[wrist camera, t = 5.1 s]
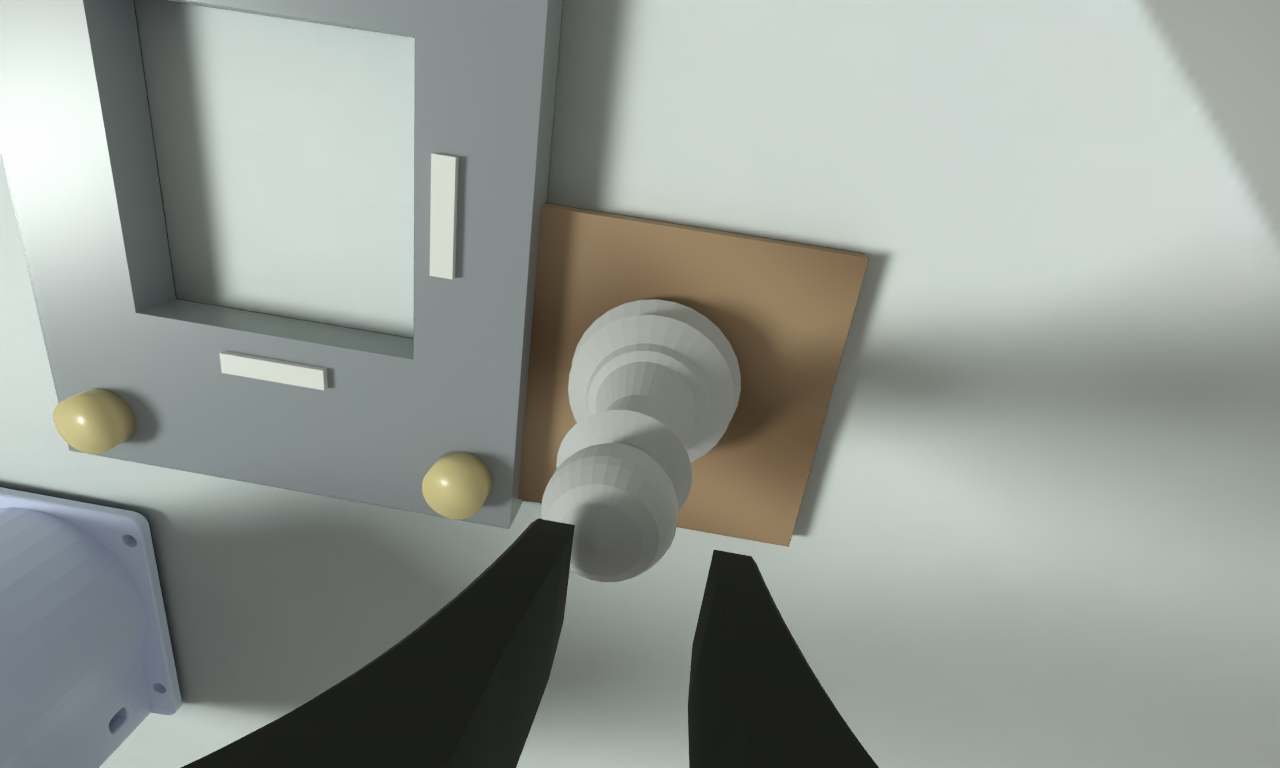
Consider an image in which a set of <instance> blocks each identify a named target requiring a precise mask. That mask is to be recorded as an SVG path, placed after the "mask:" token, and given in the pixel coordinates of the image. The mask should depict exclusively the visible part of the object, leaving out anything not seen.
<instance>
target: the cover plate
mask: <svg viewBox="0 0 1280 768" xmlns="http://www.w3.org/2000/svg"><path fill="white" fill-rule="evenodd" d="M166 1H172V2H179V3H186V4H192V5H199V6H206V7H212V8H219V9H226V10H233V11H239V12H246V13H253V14H259V15H266V16H273V17H279V18H286V19H293V20H300V21H306V22H313V23H320V24H326V25H333V26H340V27H346V28H353V29H360V30H367V31H373V32H380V33H387V34H393V35H400V36H407V37H413V38H415V124H414V339H411V338H405V337H399V336H393V335H387V334H381V333H375V332H369V331H364V330H358V329H352V328H346V327H340V326H334V325H328V324H322V323H316V322H310V321H304V320H298V319H292V318H286V317H280V316H274V315H268V314H262V313H256V312H250V311H244V310H238V309H232V308H227V307H221V306H215V305H209V304H203V303H197V302H191V301H185V300H179V299H176V295H175V288H174V281H173V274H172V267H171V260H170V253H169V246H168V239H167V232H166V225H165V218H164V211H163V204H162V197H161V190H160V183H159V176H158V169H157V162H156V155H155V148H154V141H153V134H152V127H151V120H150V113H149V106H148V99H147V92H146V85H145V78H144V71H143V64H142V57H141V50H140V43H139V36H138V29H137V22H136V15H135V8H134V1H133V0H0V150H1V154H2V159H3V163H4V167H5V172H6V176H7V180H8V185H9V189H10V193H11V198H12V202H13V206H14V211H15V215H16V220H17V224H18V228H19V233H20V237H21V241H22V246H23V250H24V254H25V259H26V263H27V267H28V272H29V276H30V280H31V285H32V289H33V293H34V298H35V302H36V307H37V311H38V315H39V320H40V324H41V328H42V333H43V337H44V341H45V346H46V350H47V354H48V359H49V363H50V367H51V372H52V376H53V381H54V385H55V389H56V394H57V398H58V402H59V403H58V405H57V406H56V407H55V410H54V414H53V418H54V423H55V426H56V429H57V431H58V432H59V434H60V435H61V437H62V438H63V439H64V440H65V441H66V442H67V443H68V446H69V450H70V451H76V452H81V453H87V454H92V455H98V456H104V457H109V458H115V459H120V460H126V461H132V462H137V463H143V464H148V465H154V466H160V467H165V468H171V469H176V470H182V471H188V472H193V473H199V474H204V475H210V476H216V477H221V478H227V479H232V480H238V481H244V482H249V483H255V484H260V485H266V486H272V487H277V488H283V489H288V490H294V491H300V492H305V493H311V494H316V495H322V496H328V497H333V498H339V499H344V500H350V501H356V502H361V503H367V504H372V505H378V506H384V507H389V508H395V509H400V510H406V511H412V512H417V513H423V514H428V515H434V516H440V517H445V518H451V519H456V520H462V521H468V522H473V523H479V524H484V525H490V526H496V527H501V528H507V529H509V528H510V526H511V524H512V522H513V520H514V518H515V516H516V514H517V512H518V510H519V508H520V506H521V504H522V501H523V500H521V499H518V498H519V485H520V472H521V459H522V446H523V433H524V421H525V408H526V395H527V382H528V369H529V356H530V344H531V331H532V318H533V305H534V292H535V280H536V267H537V254H538V241H539V228H540V215H541V206H543V205H545V204H546V203H547V192H548V180H549V167H550V155H551V142H552V130H553V118H554V105H555V93H556V81H557V68H558V56H559V44H560V31H561V19H562V7H563V0H166Z"/></svg>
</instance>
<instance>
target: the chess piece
mask: <svg viewBox="0 0 1280 768" xmlns="http://www.w3.org/2000/svg"><path fill="white" fill-rule="evenodd" d="M740 391H741V374H740V370H739V365H738V361H737V357H736V355H735V353H734V351H733V349H732V347H731V344H730V342H729V341H728V340H727V338H726V337H725V336H724V334H723V333H722V332H721V330H720V329H719V328H718V327H717V326H716V325H715V324H713V323H712V322H711V321H710V320H709V319H708V318H707V317H705V316H704V315H702V314H700V313H699V312H697V311H695V310H694V309H692V308H689V307H687V306H684V305H681V304H679V303H676V302H670V301H664V300H658V299H656V300H638V301H634V302H629V303H625V304H622V305H620V306H618V307H616V308H613V309H611V310H609V311H607V312H606V313H605V314H603V315H602V316H601V317H599V318H598V319H597V320H595V321H594V322H593V324H592V325H591V326H590V327H589V328H588V329H587V330H586V331H585V333H584V334H583V336H582V338H581V340H580V341H579V343H578V345H577V347H576V351H575V354H574V357H573V360H572V368H571V371H570V374H569V384H568V393H569V402H570V406H571V409H572V412H573V415H574V418H575V420H576V422H577V424H575V425H574V426H573V428H572V429H571V430H570V431H569V432H568V433H567V434H566V436H565V437H564V439H563V441H562V443H561V445H560V448H559V451H558V454H557V464H556V467H557V469H556V471H555V473H554V474H553V476H552V478H551V479H550V481H549V483H548V484H547V486H546V489H545V492H544V495H543V498H542V508H541V517H542V519H544V520H549V521H555V522H561V523H566V524H572V525H575V528H574V536H573V544H572V553H571V561H570V570H572V571H573V572H575V573H577V574H579V575H580V576H583V577H586V578H588V579H591V580H596V581H601V582H617V581H623V580H627V579H630V578H633V577H635V576H637V575H639V574H641V573H643V572H645V571H646V570H648V569H649V568H651V567H652V566H653V565H655V564H656V563H657V562H658V561H659V560H660V559H661V558H662V556H663V555H664V554H665V553H666V551H667V550H668V548H669V547H670V545H671V543H672V541H673V539H674V536H675V531H676V526H677V520H678V512H679V510H680V509H681V508H682V506H683V505H684V503H685V502H686V500H687V497H688V495H689V493H690V489H691V484H692V467H691V462H693V461H695V460H697V459H698V458H700V457H702V456H703V455H705V454H706V453H707V452H708V451H710V450H711V449H712V448H713V447H714V446H715V445H716V444H717V443H718V441H719V440H720V439H721V437H722V436H723V434H724V433H725V432H726V429H727V427H728V425H729V422H730V421H731V419H732V417H733V415H734V412H735V410H736V408H737V406H738V401H739V396H740Z"/></svg>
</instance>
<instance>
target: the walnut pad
mask: <svg viewBox="0 0 1280 768" xmlns="http://www.w3.org/2000/svg"><path fill="white" fill-rule="evenodd" d="M868 260H869V258H868V257H867V256H866V255H865V254H863V253H857V252H850V251H844V250H838V249H831V248H825V247H819V246H812V245H806V244H800V243H793V242H787V241H781V240H774V239H768V238H762V237H755V236H749V235H743V234H736V233H730V232H724V231H718V230H711V229H705V228H699V227H692V226H686V225H680V224H673V223H667V222H661V221H654V220H648V219H642V218H635V217H629V216H623V215H616V214H610V213H604V212H597V211H591V210H585V209H579V208H572V207H566V206H560V205H553V204H547V203H546V204H545V205H543V206H541V215H540V228H539V241H538V254H537V267H536V280H535V292H534V305H533V318H532V331H531V344H530V356H529V369H528V382H527V395H526V408H525V421H524V433H523V446H522V459H521V472H520V485H519V498H518V499H521V500H527V501H533V502H538V503H542V498H543V495H544V492H545V489H546V486H547V484H548V483H549V481H550V479H551V478H552V476H553V474H554V473H555V471H556V469H557V467H556V464H557V454H558V451H559V448H560V445H561V443H562V441H563V439H564V437H565V436H566V434H567V433H568V432H569V431H570V430H571V429H572V428H573V426H574V425H575V424H577V422H576V420H575V418H574V415H573V412H572V409H571V406H570V402H569V393H568V384H569V374H570V371H571V368H572V360H573V357H574V354H575V351H576V347H577V345H578V343H579V341H580V340H581V338H582V336H583V334H584V333H585V331H586V330H587V329H588V328H589V327H590V326H591V325H592V324H593V322H594V321H595V320H597V319H598V318H599V317H601V316H602V315H603V314H605V313H606V312H607V311H609V310H611V309H613V308H616V307H618V306H620V305H622V304H625V303H629V302H634V301H638V300H656V299H658V300H664V301H670V302H676V303H679V304H681V305H684V306H687V307H689V308H692V309H694V310H695V311H697V312H699V313H700V314H702V315H704V316H705V317H707V318H708V319H709V320H710V321H711V322H712V323H713V324H715V325H716V326H717V327H718V328H719V329H720V330H721V332H722V333H723V334H724V336H725V337H726V338H727V340H728V341H729V342H730V344H731V347H732V349H733V351H734V353H735V355H736V357H737V361H738V365H739V370H740V374H741V391H740V396H739V401H738V406H737V408H736V410H735V412H734V415H733V417H732V419H731V421H730V422H729V425H728V427H727V429H726V432H725V433H724V434H723V436H722V437H721V439H720V440H719V441H718V443H717V444H716V445H715V446H714V447H713V448H712V449H711V450H710V451H708V452H707V453H706V454H705V455H703V456H702V457H700V458H698V459H697V460H695V461H693V462H691V467H692V484H691V489H690V493H689V495H688V497H687V500H686V502H685V503H684V505H683V506H682V508H681V509H680V510H679V512H678V520H677V526H676V527H680V528H685V529H691V530H697V531H702V532H708V533H714V534H719V535H725V536H731V537H736V538H742V539H748V540H753V541H759V542H765V543H770V544H776V545H782V546H787V547H789V544H790V541H791V537H792V534H793V530H794V526H795V523H796V519H797V516H798V512H799V508H800V505H801V501H802V497H803V494H804V490H805V487H806V483H807V479H808V476H809V472H810V469H811V465H812V461H813V458H814V454H815V451H816V447H817V443H818V440H819V436H820V433H821V429H822V425H823V422H824V418H825V415H826V411H827V407H828V404H829V400H830V397H831V393H832V389H833V386H834V382H835V379H836V375H837V371H838V368H839V364H840V361H841V357H842V353H843V350H844V346H845V343H846V339H847V335H848V332H849V328H850V324H851V321H852V317H853V314H854V310H855V306H856V303H857V299H858V296H859V292H860V288H861V285H862V281H863V278H864V274H865V270H866V267H867V263H868Z"/></svg>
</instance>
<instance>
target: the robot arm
mask: <svg viewBox="0 0 1280 768" xmlns="http://www.w3.org/2000/svg"><path fill="white" fill-rule="evenodd" d="M574 528H575V525H572V524H566V523H561V522H555V521H549V520H544V519H537V520H536V521H534V522H532V523H531V524H530V525H529V526H528V528H527V529H526V530H525V531H524V532H523V533H522V534H521V535H520V536H519V537H518V538H517V539H516V541H515V542H514V543H513V544H512V545H511V546H510V547H509V548H508V549H507V550H506V551H505V552H504V553H503V554H502V555H501V556H500V557H499V558H498V559H497V560H496V561H495V562H494V563H493V564H492V565H491V566H490V567H488V568H487V569H486V570H485V571H484V572H483V573H482V574H481V575H480V576H479V577H478V578H476V579H475V580H474V581H473V582H472V583H471V584H470V585H469V586H468V587H467V588H466V589H464V590H463V591H462V592H461V593H460V594H459V595H458V596H457V597H455V598H454V599H453V600H452V601H451V602H449V603H448V604H447V605H446V606H444V607H443V608H442V609H441V610H440V611H438V612H437V613H436V614H435V615H433V616H432V617H431V618H430V619H429V620H427V621H426V622H425V623H424V624H422V625H421V626H420V627H419V628H417V629H416V630H415V631H414V632H412V633H411V634H410V635H408V636H407V637H406V638H404V639H403V640H401V641H400V642H399V643H397V644H396V645H395V646H393V647H392V648H391V649H389V650H388V651H386V652H385V653H383V654H382V655H381V656H379V657H378V658H376V659H375V660H373V661H372V662H370V663H369V664H367V665H366V666H364V667H363V668H362V669H360V670H359V671H357V672H355V673H354V674H352V675H351V676H349V677H348V678H346V679H344V680H343V681H341V682H339V683H338V684H336V685H335V686H333V687H331V688H330V689H328V690H327V691H325V692H323V693H322V694H320V695H319V696H317V697H315V698H314V699H312V700H310V701H309V702H307V703H305V704H304V705H302V706H300V707H298V708H297V709H295V710H293V711H291V712H290V713H288V714H286V715H284V716H283V717H281V718H279V719H277V720H275V721H273V722H271V723H269V724H267V725H266V726H264V727H262V728H260V729H258V730H256V731H254V732H252V733H250V734H248V735H246V736H244V737H242V738H241V739H239V740H237V741H235V742H233V743H231V744H229V745H227V746H225V747H223V748H221V749H219V750H217V751H215V752H213V753H211V754H209V755H207V756H205V757H203V758H201V759H199V760H196V761H194V762H192V763H190V764H188V765H186V766H184V767H181V768H516V766H517V763H518V761H519V758H520V755H521V753H522V750H523V747H524V745H525V742H526V739H527V737H528V734H529V731H530V729H531V726H532V723H533V720H534V718H535V715H536V712H537V710H538V707H539V704H540V701H541V699H542V696H543V693H544V691H545V688H546V685H547V682H548V679H549V676H550V672H551V668H552V664H553V660H554V656H555V652H556V648H557V644H558V640H559V636H560V632H561V628H562V625H563V619H564V611H565V603H566V594H567V586H568V578H569V569H570V561H571V553H572V544H573V536H574ZM181 705H182V700H181V695H180V690H179V684H178V679H177V673H176V668H175V663H174V657H173V652H172V646H171V641H170V636H169V630H168V625H167V619H166V614H165V609H164V603H163V598H162V592H161V587H160V582H159V576H158V571H157V565H156V560H155V555H154V549H153V544H152V538H151V533H150V528H149V524H148V521H147V520H146V518H145V517H144V516H142V515H141V514H140V513H137V512H134V511H128V510H123V509H117V508H112V507H106V506H101V505H95V504H90V503H84V502H79V501H73V500H68V499H62V498H57V497H51V496H46V495H40V494H35V493H29V492H24V491H18V490H13V489H7V488H2V487H0V768H99V767H100V766H101V765H102V764H103V763H104V762H105V760H106V759H107V758H108V757H109V756H110V755H111V754H112V753H113V752H114V751H115V750H116V749H117V748H118V747H119V746H120V744H121V743H122V742H123V741H124V740H125V739H126V738H127V737H128V736H129V735H130V734H131V733H132V732H133V731H134V730H135V729H136V727H137V726H138V725H139V724H140V723H141V722H142V721H143V720H144V719H145V718H146V717H147V716H148V715H149V714H150V713H151V712H152V713H157V714H162V715H172V714H174V713H175V712H176V711H177V710H178V709H179V707H180V706H181ZM688 728H689V763H690V768H879V767H878V766H877V765H876V763H875V762H874V761H873V759H872V758H871V757H870V755H869V754H868V753H867V752H866V750H865V749H864V748H863V746H862V745H861V743H860V742H859V741H858V739H857V738H856V736H855V735H854V734H853V732H852V731H851V729H850V728H849V727H848V725H847V724H846V722H845V721H844V719H843V718H842V716H841V715H840V713H839V712H838V710H837V709H836V707H835V706H834V704H833V703H832V701H831V700H830V698H829V697H828V695H827V694H826V692H825V690H824V689H823V687H822V686H821V684H820V683H819V681H818V679H817V678H816V676H815V674H814V673H813V671H812V670H811V668H810V666H809V665H808V663H807V661H806V659H805V658H804V656H803V654H802V652H801V651H800V649H799V647H798V645H797V644H796V642H795V640H794V638H793V637H792V635H791V633H790V631H789V629H788V628H787V626H786V624H785V622H784V620H783V618H782V616H781V614H780V612H779V610H778V608H777V606H776V604H775V602H774V601H773V598H772V596H771V594H770V592H769V590H768V588H767V586H766V584H765V582H764V580H763V577H762V575H761V573H760V571H759V569H758V566H757V564H756V562H755V561H754V560H753V558H752V557H751V556H746V555H740V554H735V553H729V552H724V551H718V550H714V552H713V556H712V561H711V565H710V570H709V574H708V579H707V583H706V588H705V592H704V597H703V601H702V606H701V610H700V615H699V619H698V623H697V628H696V632H695V637H694V641H693V647H692V659H691V671H690V684H689V698H688Z"/></svg>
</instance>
